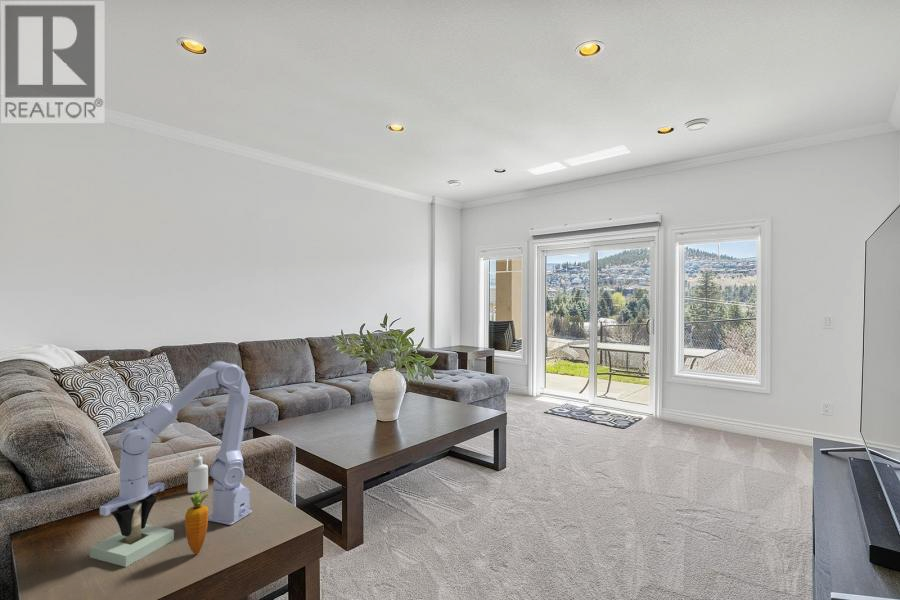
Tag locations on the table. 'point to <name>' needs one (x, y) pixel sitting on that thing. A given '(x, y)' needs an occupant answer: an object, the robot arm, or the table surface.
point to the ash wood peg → (135, 524)
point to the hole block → (131, 546)
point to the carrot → (196, 523)
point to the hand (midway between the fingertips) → (133, 531)
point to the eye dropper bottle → (198, 476)
